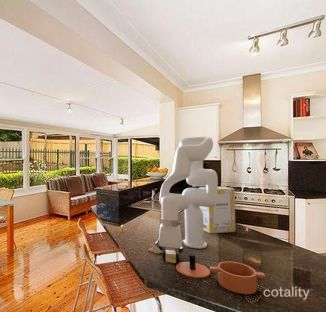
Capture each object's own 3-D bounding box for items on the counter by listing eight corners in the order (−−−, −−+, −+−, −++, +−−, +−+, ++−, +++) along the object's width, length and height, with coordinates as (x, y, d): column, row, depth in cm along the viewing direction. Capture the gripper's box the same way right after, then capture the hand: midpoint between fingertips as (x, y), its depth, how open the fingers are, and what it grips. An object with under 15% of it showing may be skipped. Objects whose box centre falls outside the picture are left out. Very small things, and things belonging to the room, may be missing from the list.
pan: (208, 274, 97) (208, 258, 97) (259, 281, 91) (258, 264, 91) (213, 290, 85) (212, 272, 85) (271, 299, 79) (270, 280, 79)
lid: (176, 262, 109) (175, 247, 109) (207, 266, 104) (207, 250, 104) (176, 276, 96) (175, 259, 96) (212, 281, 91) (211, 263, 91)
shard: (158, 246, 129) (158, 242, 129) (171, 249, 123) (171, 246, 123) (147, 251, 121) (147, 248, 121) (161, 256, 116) (161, 252, 116)
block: (166, 258, 112) (165, 249, 113) (176, 260, 111) (175, 250, 111) (165, 262, 108) (165, 253, 108) (176, 264, 107) (175, 254, 107)
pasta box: (209, 233, 148) (208, 189, 148) (199, 228, 158) (198, 187, 159) (235, 231, 150) (234, 188, 151) (224, 226, 161) (223, 186, 161)
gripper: (189, 221, 110) (189, 260, 110) (152, 219, 116) (153, 255, 116) (189, 226, 103) (190, 267, 103) (150, 223, 109) (151, 262, 109)
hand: (170, 260), depth 110 cm, fingers closed on block, 4 cm apart
